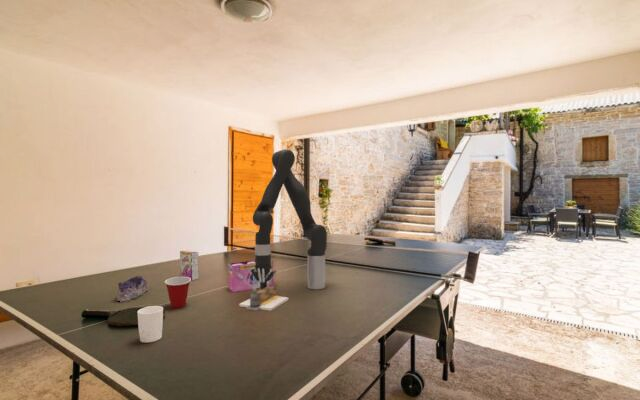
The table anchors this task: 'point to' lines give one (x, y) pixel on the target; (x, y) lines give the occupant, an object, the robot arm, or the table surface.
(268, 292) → the brown handle
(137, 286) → the geode
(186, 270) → the candy bar box
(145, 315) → the white cup
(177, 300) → the plastic cup
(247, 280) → the gum box
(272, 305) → the tray
